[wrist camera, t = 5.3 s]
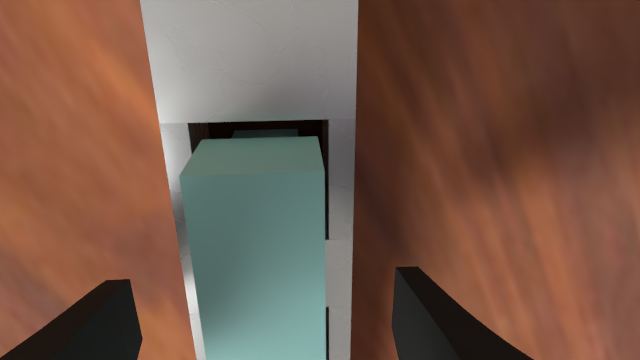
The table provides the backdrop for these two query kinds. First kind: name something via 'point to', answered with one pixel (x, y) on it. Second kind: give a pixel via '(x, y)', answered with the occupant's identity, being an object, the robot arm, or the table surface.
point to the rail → (262, 107)
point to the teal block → (258, 244)
